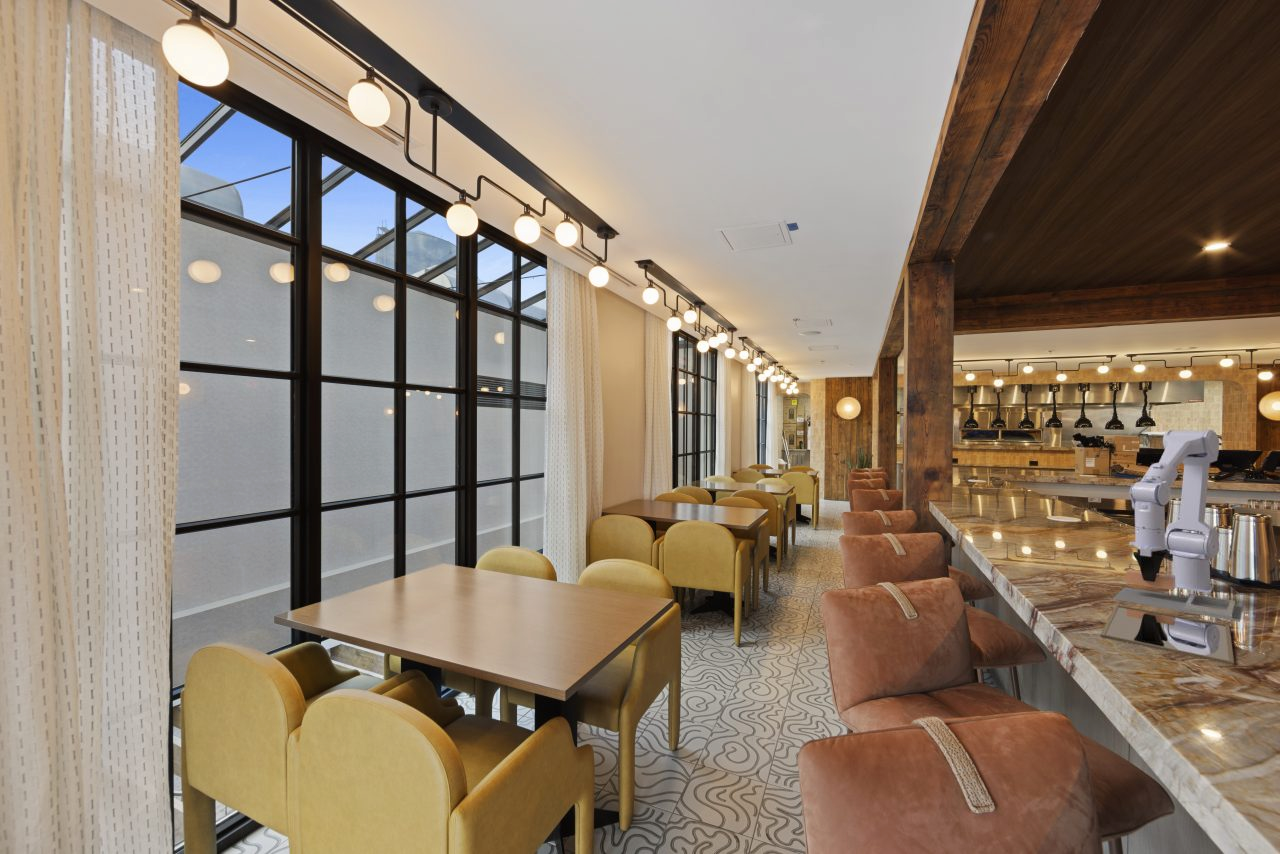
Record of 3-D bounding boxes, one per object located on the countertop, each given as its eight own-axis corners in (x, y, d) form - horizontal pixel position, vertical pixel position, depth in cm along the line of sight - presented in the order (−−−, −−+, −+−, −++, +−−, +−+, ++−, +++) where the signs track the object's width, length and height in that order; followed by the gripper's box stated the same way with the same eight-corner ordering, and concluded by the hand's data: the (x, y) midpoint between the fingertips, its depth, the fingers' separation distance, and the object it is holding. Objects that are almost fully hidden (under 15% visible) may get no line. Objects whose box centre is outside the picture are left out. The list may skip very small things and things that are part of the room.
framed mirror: (1233, 667, 101) (1229, 629, 120) (1233, 662, 101) (1229, 624, 120) (1100, 639, 115) (1115, 608, 134) (1100, 634, 115) (1115, 604, 134)
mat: (1124, 588, 150) (1124, 587, 150) (1242, 607, 133) (1242, 606, 133) (1112, 599, 140) (1112, 598, 140) (1239, 622, 123) (1239, 621, 123)
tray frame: (1191, 599, 139) (1191, 593, 139) (1235, 606, 133) (1235, 600, 133) (1185, 610, 131) (1185, 604, 131) (1232, 618, 125) (1231, 612, 125)
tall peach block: (1129, 580, 146) (1128, 569, 146) (1175, 587, 139) (1175, 575, 139) (1126, 582, 144) (1126, 571, 144) (1173, 590, 137) (1173, 578, 137)
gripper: (1134, 522, 149) (1134, 571, 149) (1124, 529, 140) (1125, 581, 140) (1169, 525, 144) (1170, 576, 144) (1161, 533, 135) (1162, 587, 135)
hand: (1150, 579), depth 142 cm, fingers closed on tall peach block, 4 cm apart
